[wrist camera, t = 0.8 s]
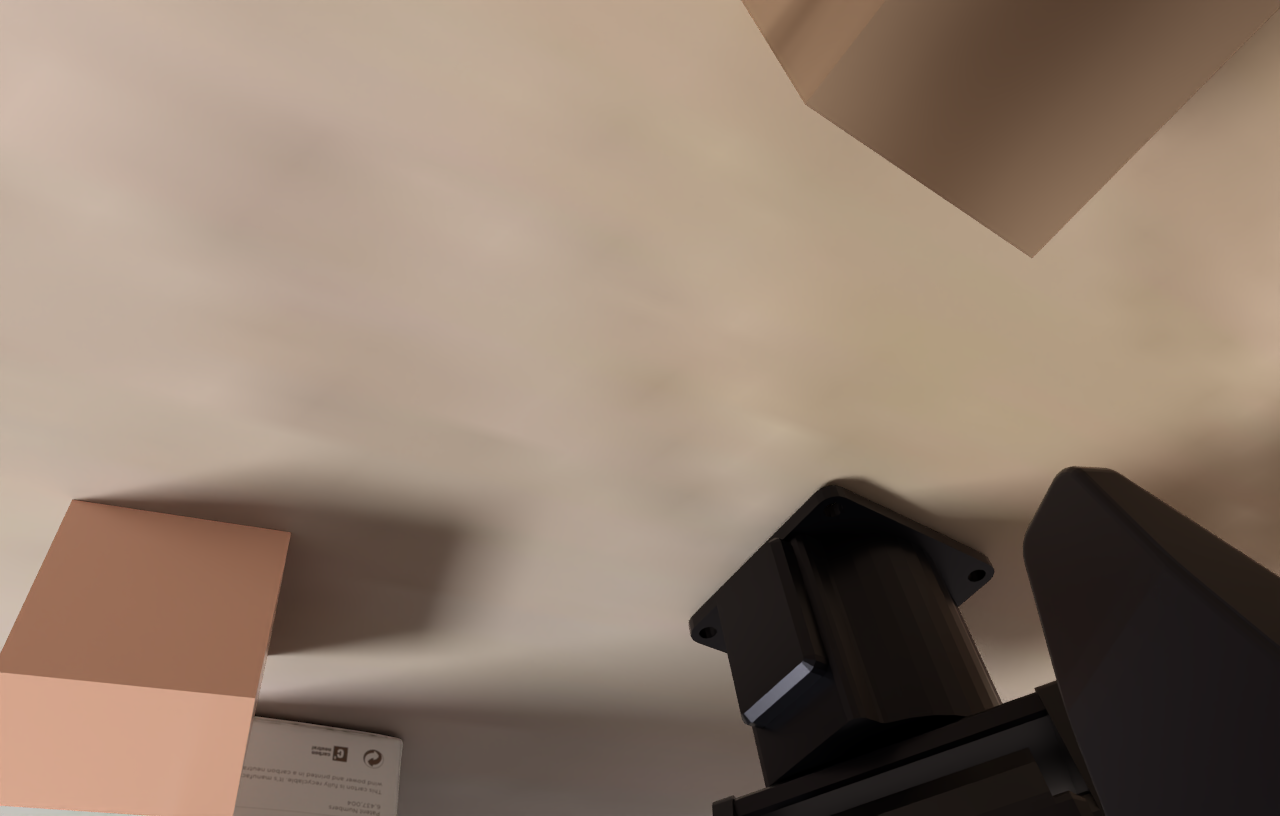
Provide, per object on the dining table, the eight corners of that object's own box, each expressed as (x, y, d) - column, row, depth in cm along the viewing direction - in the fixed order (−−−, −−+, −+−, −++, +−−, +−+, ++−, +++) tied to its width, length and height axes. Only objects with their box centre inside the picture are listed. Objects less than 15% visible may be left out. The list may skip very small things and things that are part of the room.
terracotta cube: (291, 529, 25) (255, 698, 21) (267, 652, 28) (232, 821, 24) (73, 497, 24) (-8, 671, 20) (71, 630, 27) (-1, 805, 23)
